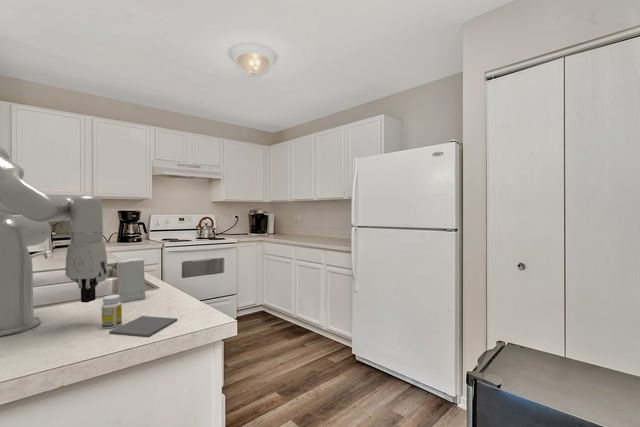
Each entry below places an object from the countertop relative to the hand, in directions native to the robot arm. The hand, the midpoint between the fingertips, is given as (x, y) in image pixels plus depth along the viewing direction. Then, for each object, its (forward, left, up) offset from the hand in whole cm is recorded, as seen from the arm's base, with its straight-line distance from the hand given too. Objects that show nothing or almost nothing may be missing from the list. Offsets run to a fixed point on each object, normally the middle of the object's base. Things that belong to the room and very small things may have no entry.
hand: (88, 301), depth 90 cm
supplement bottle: (+8, 0, -7) cm, 10 cm away
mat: (+18, +1, -7) cm, 19 cm away
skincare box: (-6, +23, -7) cm, 25 cm away
